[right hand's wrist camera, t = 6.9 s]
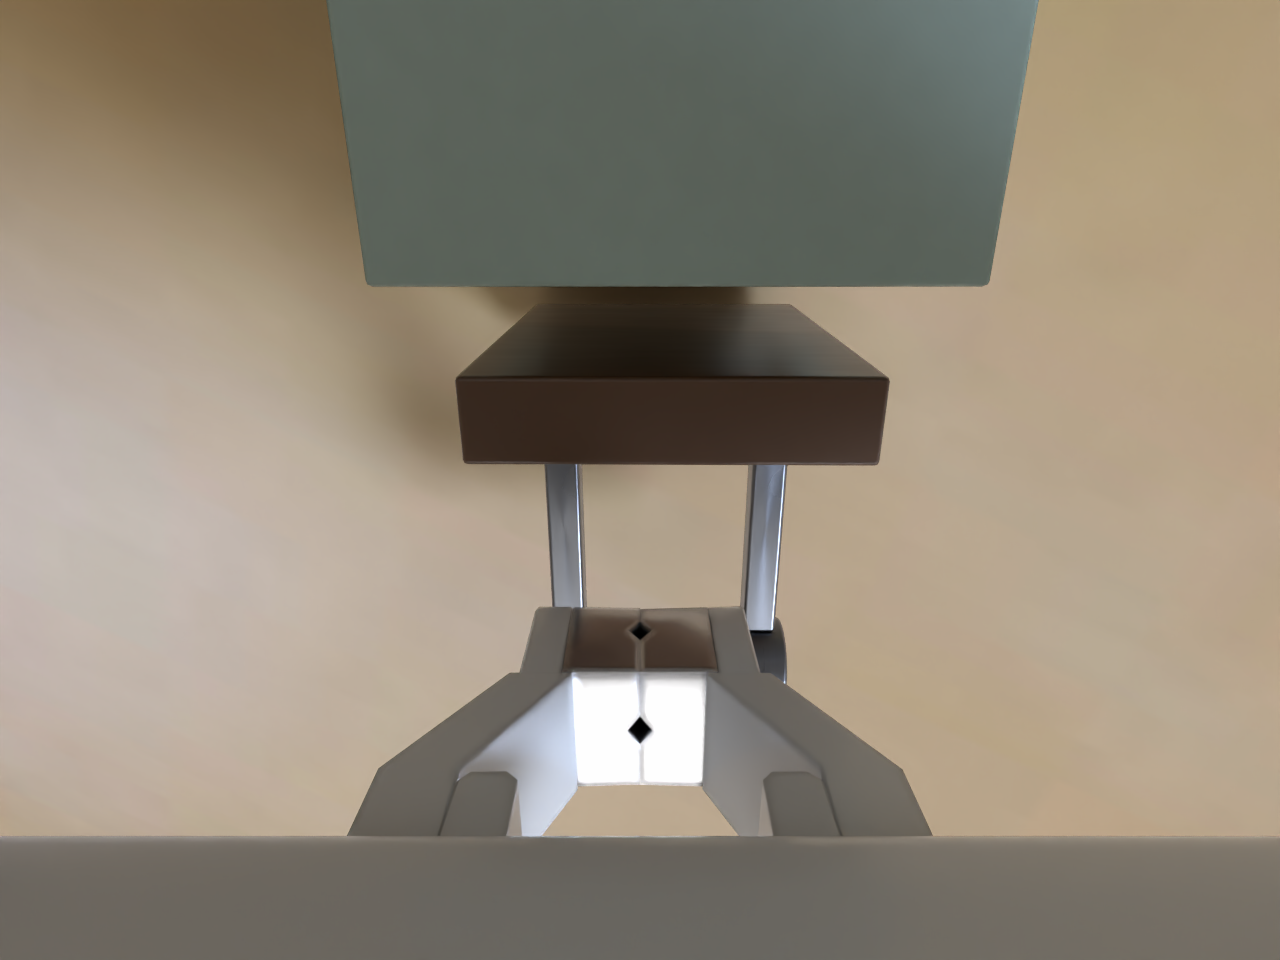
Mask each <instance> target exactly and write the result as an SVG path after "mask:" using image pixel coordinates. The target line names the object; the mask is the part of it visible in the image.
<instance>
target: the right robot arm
mask: <svg viewBox="0 0 1280 960" xmlns="http://www.w3.org/2000/svg"><path fill="white" fill-rule="evenodd" d="M637 784H640V785H677V786H703V790H704V792H705V793H706V794H707V795H708V797H709V798H710V799H711V801H712V802H713V803H714V804H715V806H716V807H717V808H718V810H719V811H720V812H721V813H722V815H723V816H724V817H725V819H726V820H727V821H728V822H729V824H730V825H731V826H732V828H733V829H734V830H735V831H736V833H737V834H738V835H739V836H542V834H543V833H544V832H545V831H546V829H547V828H548V827H549V825H550V824H551V823H552V822H553V820H554V819H555V818H556V817H557V815H558V814H559V813H560V811H561V810H562V809H563V808H564V806H565V805H566V804H567V802H568V801H569V800H570V799H571V797H572V796H573V795H574V794H575V792H576V791H577V786H602V785H637ZM0 960H1280V836H933V835H932V833H931V831H930V828H929V826H928V824H927V822H926V820H925V818H924V815H923V813H922V811H921V809H920V807H919V805H918V802H917V800H916V798H915V796H914V794H913V791H912V789H911V787H910V785H909V783H908V781H907V778H906V776H905V774H904V772H903V770H902V769H901V768H900V767H898V766H897V765H896V764H894V763H893V762H891V761H890V760H889V759H887V758H886V757H885V756H883V755H882V754H880V753H879V752H878V751H876V750H875V749H874V748H872V747H871V746H870V745H868V744H867V743H865V742H864V741H863V740H861V739H860V738H859V737H857V736H856V735H855V734H853V733H852V732H850V731H849V730H848V729H846V728H845V727H844V726H842V725H841V724H840V723H838V722H837V721H835V720H834V719H833V718H831V717H830V716H829V715H827V714H826V713H824V712H823V711H822V710H820V709H819V708H818V707H816V706H815V705H814V704H812V703H811V702H809V701H808V700H807V699H805V698H804V697H803V696H801V695H800V694H799V693H797V692H796V691H794V690H793V689H792V688H790V687H789V686H788V685H786V684H785V683H784V682H782V681H781V680H779V679H778V678H777V677H775V676H774V675H773V674H771V673H760V669H759V665H758V661H757V658H756V654H755V650H754V646H753V642H752V638H751V635H750V631H749V627H748V623H747V619H746V615H745V612H744V609H743V608H742V607H741V606H733V607H708V608H667V609H640V608H601V607H573V608H572V607H571V606H570V607H539V608H538V609H537V610H536V611H535V615H534V618H533V622H532V626H531V630H530V634H529V638H528V642H527V646H526V650H525V653H524V657H523V661H522V665H521V669H520V673H509V674H507V675H506V676H505V677H503V678H502V679H501V680H499V681H498V682H496V683H495V684H494V685H492V686H491V687H490V688H488V689H487V690H485V691H484V692H483V693H481V694H480V695H479V696H477V697H476V698H475V699H473V700H472V701H470V702H469V703H468V704H466V705H465V706H464V707H462V708H461V709H459V710H458V711H457V712H455V713H454V714H453V715H451V716H450V717H448V718H447V719H446V720H444V721H443V722H442V723H440V724H439V725H437V726H436V727H435V728H433V729H432V730H431V731H429V732H428V733H426V734H425V735H424V736H422V737H421V738H420V739H418V740H417V741H415V742H414V743H413V744H411V745H410V746H409V747H407V748H406V749H405V750H403V751H402V752H400V753H399V754H398V755H396V756H395V757H394V758H392V759H391V760H389V761H388V762H387V763H385V764H384V765H383V766H381V767H380V768H378V771H377V773H376V775H375V777H374V779H373V781H372V783H371V786H370V788H369V790H368V792H367V794H366V796H365V798H364V801H363V803H362V805H361V807H360V809H359V811H358V813H357V816H356V818H355V820H354V822H353V824H352V826H351V828H350V831H349V833H348V835H347V836H0Z"/></svg>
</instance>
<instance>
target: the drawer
mask: <svg viewBox="0 0 1280 960" xmlns="http://www.w3.org/2000/svg"><path fill="white" fill-rule="evenodd" d="M889 383H890V381H889V378H888V377H887V376H885V375H884V374H883V373H881V372H880V371H879V370H877V369H876V368H875V367H873V366H872V365H871V364H869V363H868V362H867V361H865V360H864V359H863V358H861V357H860V356H859V355H857V354H856V353H855V352H853V351H852V350H851V349H849V348H848V347H847V346H845V345H844V344H843V343H841V342H840V341H839V340H837V339H836V338H835V337H833V336H832V335H831V334H829V333H828V332H827V331H825V330H824V329H823V328H821V327H820V326H819V325H817V324H816V323H815V322H813V321H812V320H811V319H809V318H808V317H807V316H805V315H804V314H803V313H801V312H800V311H799V310H797V309H796V308H795V307H793V306H792V305H790V304H538V305H536V306H534V307H533V308H532V309H531V310H530V311H529V312H528V313H527V314H526V315H524V316H523V317H522V318H521V319H520V320H519V321H518V322H517V323H516V324H515V325H513V326H512V327H511V328H510V329H509V330H508V331H507V332H506V333H505V334H503V335H502V336H501V337H500V338H499V339H498V340H497V341H496V342H495V343H494V344H492V345H491V346H490V347H489V348H488V349H487V350H486V351H485V352H484V353H482V354H481V355H480V356H479V357H478V358H477V359H476V360H475V361H474V362H473V363H471V364H470V365H469V366H468V367H467V368H466V369H465V370H464V371H463V372H461V373H460V374H459V375H458V376H457V377H456V380H455V384H456V394H457V404H458V414H459V424H460V434H461V444H462V453H463V460H464V462H465V463H467V464H545V480H546V498H547V516H548V534H549V552H550V570H551V589H552V607H570V606H571V607H572V608H573V607H587V598H586V569H585V540H584V511H583V482H582V464H632V465H748V482H747V499H746V516H745V534H744V551H743V568H742V585H741V602H740V606H741V607H742V608H743V609H744V612H745V615H746V619H747V623H748V627H749V631H750V635H751V638H752V642H753V646H754V650H755V654H756V658H757V661H758V665H759V669H760V673H771V674H773V675H774V676H775V677H777V678H778V679H779V680H781V681H782V682H784V683H785V684H787V656H786V645H785V638H784V632H783V628H782V625H781V623H780V620H779V619H778V618H776V617H775V612H776V599H777V587H778V574H779V562H780V549H781V537H782V525H783V512H784V500H785V487H786V475H787V465H877V464H878V463H879V459H880V451H881V444H882V436H883V428H884V421H885V413H886V406H887V398H888V390H889Z"/></svg>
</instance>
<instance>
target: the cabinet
mask: <svg viewBox="0 0 1280 960" xmlns="http://www.w3.org/2000/svg"><path fill="white" fill-rule="evenodd" d="M326 1H327V8H328V15H329V22H330V30H331V37H332V44H333V51H334V58H335V65H336V72H337V79H338V86H339V94H340V101H341V108H342V115H343V122H344V129H345V136H346V143H347V150H348V158H349V165H350V172H351V179H352V186H353V193H354V200H355V207H356V214H357V222H358V229H359V236H360V243H361V250H362V257H363V264H364V271H365V278H366V282H367V284H368V285H370V286H372V287H953V286H984V285H987V284H988V282H989V280H990V275H991V269H992V263H993V257H994V252H995V246H996V240H997V235H998V229H999V223H1000V217H1001V212H1002V206H1003V200H1004V195H1005V189H1006V183H1007V177H1008V172H1009V166H1010V160H1011V155H1012V149H1013V143H1014V137H1015V132H1016V126H1017V120H1018V115H1019V109H1020V103H1021V97H1022V92H1023V86H1024V80H1025V75H1026V69H1027V63H1028V57H1029V52H1030V46H1031V40H1032V35H1033V29H1034V23H1035V17H1036V12H1037V6H1038V0H326Z"/></svg>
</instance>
